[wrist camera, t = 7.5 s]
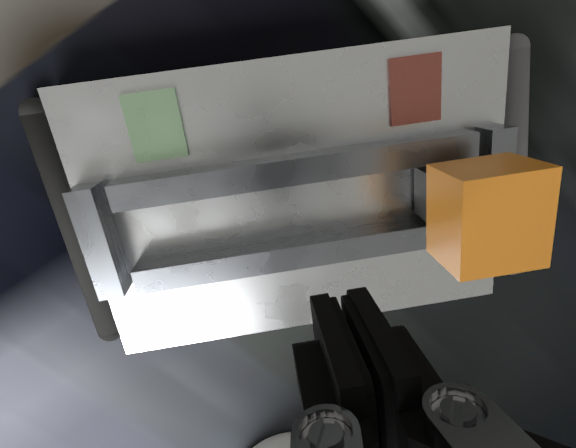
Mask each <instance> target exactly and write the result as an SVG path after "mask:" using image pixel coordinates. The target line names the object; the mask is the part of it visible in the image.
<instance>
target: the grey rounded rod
mask: <svg viewBox="0 0 576 448" xmlns="http://www.w3.org/2000/svg"><path fill="white" fill-rule="evenodd" d="M530 47H531V45H530V40H529V39H528V37H527V36H526V35H524V34H521V33H513V34H510V46H509V61H508V75H507V90H506V104H505V119H504V124H505V125H511V126H517V127H518V135H517V148H516V154H519V155H522V156H526V157H528V127H529V87H530ZM515 274H518V273H515ZM511 275H514V274H511Z"/></svg>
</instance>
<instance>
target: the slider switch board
mask: <svg viewBox="0 0 576 448" xmlns="http://www.w3.org/2000/svg"><path fill="white" fill-rule="evenodd" d="M510 32H511V25H509V26H502V27H494V28H487V29H479V30H472V31H464V32H457V33H449V34H442V35H434V36H426V37H419V38H411V39H404V40H396V41H389V42H381V43H374V44H366V45H359V46H351V47H344V48H336V49H329V50H321V51H314V52H306V53H298V54H291V55H283V56H276V57H268V58H261V59H253V60H246V61H238V62H231V63H223V64H216V65H208V66H201V67H193V68H185V69H178V70H170V71H163V72H155V73H148V74H140V75H133V76H125V77H118V78H110V79H103V80H95V81H88V82H80V83H73V84H65V85H57V86H50V87H42V88H37V90H38V93H39V96H40V99H41V102H42V105H43V108H44V111H45V114H46V117H47V120H48V123H49V126H50V129H51V132H52V135H53V138H54V141H55V144H56V147H57V150H58V153H59V156H60V159H61V162H62V165H63V167H64V170H65V173H66V176H67V179H68V182H69V185H70V189H68V190H66V191H65V192H63V193H62V195H63V198H64V201H65V204H66V207H67V210H68V213H69V216H70V218H71V221H72V224H73V227H74V230H75V233H76V236H77V239H78V242H79V244H80V247H81V250H82V253H83V256H84V259H85V262H86V265H87V268H88V271H89V273H90V276H91V279H92V282H93V285H94V288H95V291H96V294H97V297H98V299H99V301H103V300H108V302H109V305H110V307H111V310H112V313H113V316H114V319H115V322H116V325H117V328H118V331H119V334H120V337H121V340H122V343H123V346H124V349H125V352H126V354H132V353H138V352H144V351H150V350H156V349H162V348H168V347H174V346H180V345H186V344H192V343H198V342H204V341H210V340H216V339H222V338H228V337H234V336H240V335H246V334H253V333H259V332H265V331H271V330H277V329H283V328H289V327H295V326H301V325H307V324H313V322H312V314H311V306H310V296H312V295H318V294H324V293H328V294H329V297H336V298H337V300H338V302H339V305H340V307H341V296H342V295H346V292H347V290H348V289H354V288H361V287H366V288H367V290H368V291H369V293H370V294H371V296H372V298H373V299H374V301H375V302H376V304H377V306H378V307H379V309H380V310H381V312H385V311H391V310H397V309H403V308H409V307H415V306H421V305H427V304H433V303H439V302H445V301H451V300H457V299H463V298H469V297H475V296H481V295H487V294H492V293H493V279H494V277H491V278H484V279H478V280H472V281H466V282H459V281H458V280H457V279H456V278H455V277H454V276H453V275H452V274H450V273H449V272H448V271H447V270H446V269H445V268H444V267H443V266H442V265H441V264H440V263H439V262H438V261H437V260H436V259H435V258H434V257H433V256H432V255H430V254H429V253H428V252H427V251H426V221H424V220H423V219H422V218H421V217H419V216H418V215H417V214H415V213H414V168H418V167H425V166H426V164H431V163H438V162H445V161H451V160H458V159H465V158H472V157H478V156H485V155H492V154H498V153H505V152H511V153H515V154H516V148H517V135H518V127H517V126H511V125H505V124H504V119H505V104H506V90H507V75H508V61H509V46H510ZM341 309H342V308H341Z"/></svg>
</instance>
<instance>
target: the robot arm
mask: <svg viewBox="0 0 576 448" xmlns="http://www.w3.org/2000/svg"><path fill="white" fill-rule="evenodd" d="M310 306H311V314H312V322H313V329H314V337H315V340H313V341H307V342H301V343H295V344H292V348H293V355H294V362H295V368H296V375H297V381H298V387H299V394H300V400H301V405H302V411H303V412H302V413H301V414H299V415H298V417H297V418H296V420H295V421H294V423H293V426H292V430H291V439H290V448H570V447H567V446H565V445H562V444H559V443H557V442H554V441H552V440H549V439H546V438H544V437H541V436H538V435H536V434H533V433H531V432H528V431H525V430H523V429H521V428H520V427H519V426H518V425H517V424H516V423H515V422H514V421H513V420H512V419H511V418H510V417H509V416H508V415H507V414H506V413H504V412H503V411H502V410H501V409H500V408H499V407H498V406H497V405H496V404H495V403H494V402H493V401H492V400H491V399H490V398H489V397H488V396H486V395H485V394H484V393H482V392H481V391H480V390H478V389H476V388H474V387H472V386H469V385H466V384H462V383H458V382H444V383H443V382H442V380H441V379H440V377H439V376H438V374H437V373H436V372H435V370H434V369H433V367H432V366H431V364H430V363H429V361H428V360H427V358H426V357H425V356H424V354H423V353H422V351H421V350H420V348H419V347H418V345H417V344H416V343H415V341H414V340H413V338H412V337H411V335H410V334H409V332H408V331H407V329H406V328H405V327H404V326H396V327H391V326H390V325H389V323H388V322H387V320H386V318H385V317H384V315H383V314H382V312H381V310H380V309H379V307H378V306H377V304H376V302H375V301H374V299H373V298H372V296H371V294H370V293H369V291H368V290H367V288H366V287H361V288H354V289H348V290H347V292H346V295H342V296H341V307H340V305H339V302H338V300H337V298H336V297H329V294H328V293H324V294H318V295H312V296H310ZM341 308H342V309H341Z"/></svg>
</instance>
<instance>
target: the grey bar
mask: <svg viewBox="0 0 576 448" xmlns="http://www.w3.org/2000/svg"><path fill="white" fill-rule="evenodd" d="M18 112H19V117H20V119H21V122H22V125H23V128H24V130H25V133H26V136H27V139H28V142H29V144H30V147H31V150H32V153H33V155H34V158H35V161H36V164H37V167H38V169H39V172H40V175H41V178H42V180H43V183H44V186H45V189H46V192H47V194H48V197H49V200H50V203H51V206H52V208H53V211H54V214H55V217H56V219H57V222H58V225H59V228H60V231H61V233H62V236H63V239H64V242H65V244H66V247H67V250H68V253H69V256H70V258H71V261H72V264H73V267H74V270H75V272H76V275H77V278H78V281H79V283H80V286H81V289H82V292H83V295H84V297H85V300H86V303H87V306H88V308H89V311H90V314H91V317H92V320H93V322H94V325H95V328H96V331H97V333H98V336H99V337H100V338H101V339H103V340H105V341H113V340H116V339H117V338H119V337H120V334H119V331H118V328H117V325H116V322H115V319H114V316H113V313H112V310H111V307H110V305H109V302H108V300H103V301H99V299H98V297H97V294H96V291H95V288H94V285H93V282H92V279H91V276H90V273H89V271H88V268H87V265H86V262H85V259H84V256H83V253H82V250H81V247H80V244H79V242H78V239H77V236H76V233H75V230H74V227H73V224H72V221H71V218H70V216H69V213H68V210H67V207H66V204H65V201H64V198H63V195H62V193H63V192H65V191H66V190H68V189H70V185H69V182H68V179H67V176H66V173H65V170H64V167H63V165H62V162H61V159H60V156H59V153H58V150H57V147H56V144H55V141H54V138H53V135H52V132H51V129H50V126H49V123H48V120H47V117H46V114H45V111H44V108H43V105H42V102H41V99H40V98H35V97H32V98H27V99H25V100H24V101H22V103H21V104H20V106H19V109H18Z"/></svg>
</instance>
